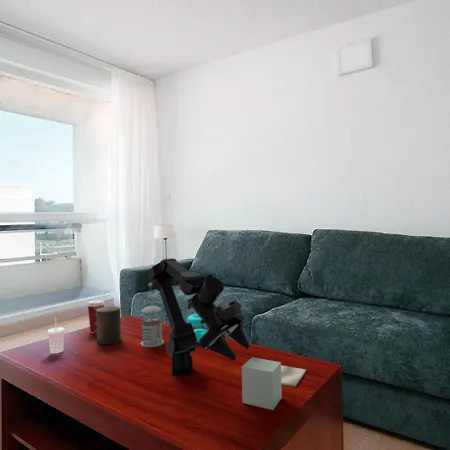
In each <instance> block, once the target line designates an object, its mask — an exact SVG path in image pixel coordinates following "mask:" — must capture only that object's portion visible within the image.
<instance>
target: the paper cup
mask: <svg viewBox="0 0 450 450" xmlns="http://www.w3.org/2000/svg"><path fill="white" fill-rule="evenodd" d="M105 304H106V303H105V301H104V300H103V299H95V300H90V301H88V302H87V305H86V306H87V308H88V309H87V310H88V312H87V313H88V320H89V323H88V324H89V329H90V331H91V332H94V333H97V309H99V308H103V307H105ZM91 332H90V333H91Z"/></svg>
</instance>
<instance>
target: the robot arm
mask: <svg viewBox="0 0 450 450" xmlns="http://www.w3.org/2000/svg"><path fill="white" fill-rule="evenodd" d="M147 273H148V275H147V276H148V279H149V281H150V283H152V285H153V286H152V287H154V288H155V289H156V290H158V292H159V294H160V298H161V301H162V305H163V307H164V310H165V313H166V316H167V319H168V322H169V325H170V331H169V335H168V338H169V340H168V342H167V344H166V345H165V348H166V349H165V351H166V354H167V355H169V356H170V357H171V375H174V376H175V375H187V374H192V372H193V371H192V370H193V367H194V365H193V354H192V352H193V353H194V352H196V347H197V337H196V334H195V332H194V330H195V329H194V326H192V324H191V323H188V322H186V321H185V320H184V316H183V313H182V311H181V308H180V304H179V302H178V299H177V297H176V293H175V291H174V287H173V281H174V280H175V281H176V282H178V283H179V289H180V290H181V292H182V293H183V294H184V295H185V296H191V295H192V297H191V298H189V299H187V309H188V310H191V309H193V310H194V312H195V314H198V315H199V317H200V318H201V319H202V320H201V322H200V323H201V324H204V323H205V324H206V325H205V326H207V328H208V329H207V330H208V331H207V332H206V333H205V334H204V335H203V336H202V338H201V339H200V343H199V346H200V347H201V348H202V349H203V350H206V349H207V350H208V351H212V352H214V353H217V354H219V355H221V356H223V357H226V358H228V359H229V360H231V361H235V360H236V359H237V356H236V355H235V353H234V351H233V350H232V348H231V347H230V345H229V344H228V343H227V341H226V333H227V334H228V336H229V337H230V338H231V339H233V340H234V342H236V343H238V344H239V345H240V346H242V347H243V348H245V349H246V350H249V349H250V348H251V346H250V343H249V341H248V338H247V336H246V333H245V331H244V324H245V317H244V316H243V312H242V310H241V309H242V308H243V307H242V304H240V303H239V302H238V301H237V300H233V301H230V302H229V303H228V306H226V307H225V308H223V307H222V306H220V305H218V306H217V305H216V304H215V303H216V301H217V300H218V298H219V297H220V296H221V294H223V292H224V289H225V286H224V282H222V281H221V280H220V279H219V278H217V277H214V275H213V273H211V274H206V275H205V276H204V275H203V274H201V273H198V272H192V271H190V270H188V269H187V268H186V267H185V266H183V265H182V264H180V263H179V262H178V260H177V259H176V258H164V259H163V258H162V260H161V261H160V262H158V263H156V264H155V265H152V267H151V268H150V269H149V271H148V272H147Z"/></svg>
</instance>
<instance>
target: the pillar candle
mask: <svg viewBox="0 0 450 450" xmlns="http://www.w3.org/2000/svg"><path fill="white" fill-rule="evenodd" d="M121 321H122V320H121V307H120V306H109V305H108V306H104V307H103V308H99V309H97V334H96V341H97V344H99V343H100V345H103V344H107V345H111V344H110V343H114V344H116V343H115V342H117V343H119V342H121V340H122V330H121V329H122V328H121V326H122V325H121Z"/></svg>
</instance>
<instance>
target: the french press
mask: <svg viewBox="0 0 450 450" xmlns="http://www.w3.org/2000/svg"><path fill="white" fill-rule="evenodd" d="M147 286H148V287H149V288H150V289H149V290H152V287H153V285H152V283H151V282H149V283H148V285H147ZM161 310H162V308H161V307H160V306H155V305H152V304H150V306H149V305H148V306H145V307H144V308H143V309H141V313H142V314H146V315H148V314H150V317H146V318H143V320H142V321H143V323H141V330H142V331H141V332H142V334H141V335H142V336H141V338H142V341H141V342H140V343H139V345H140V344H141V345H142V346H141V345H140V346H141V347H143V346H145V348H155V347H156V348H157V347H159V346H162V345H163V344H164V343H165V341H164V339H163V338H162V336H163V335H162V332H163V331H164V330H165V325H166V323H165V318H164V317H163V315H162V314H161V313H160V314H159V315H158V314H157V315H156V316H155V317H153V314H156V313H159V312H161ZM160 316H161V317H160ZM161 318H162V319H163V322H164V323H162V319H161ZM162 324H163V325H162ZM162 326H163V328H162Z"/></svg>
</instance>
